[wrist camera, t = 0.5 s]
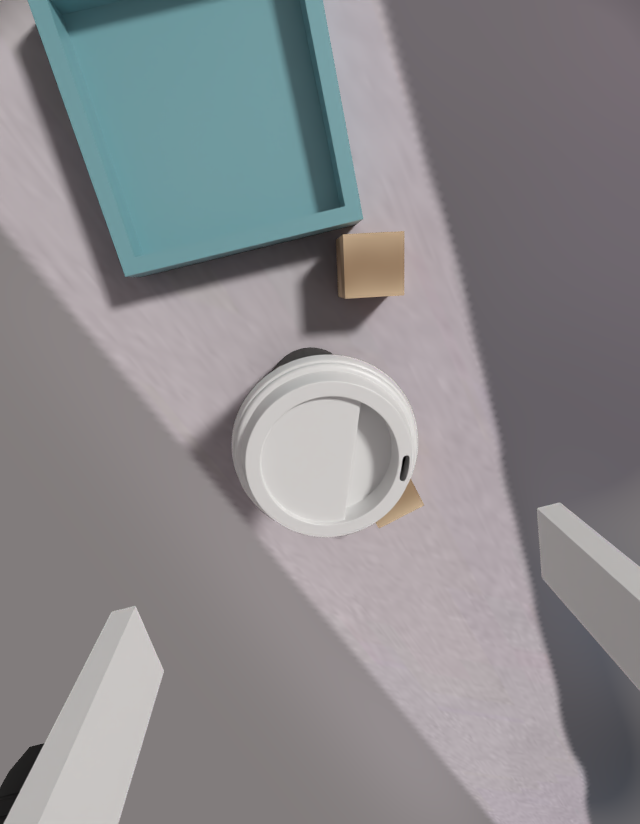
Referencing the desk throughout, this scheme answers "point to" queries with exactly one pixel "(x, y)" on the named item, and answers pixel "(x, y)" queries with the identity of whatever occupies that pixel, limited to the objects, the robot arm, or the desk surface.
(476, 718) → the desk surface
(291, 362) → the coffee cup
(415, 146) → the desk surface
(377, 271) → the maple block
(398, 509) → the maple block
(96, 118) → the tray
